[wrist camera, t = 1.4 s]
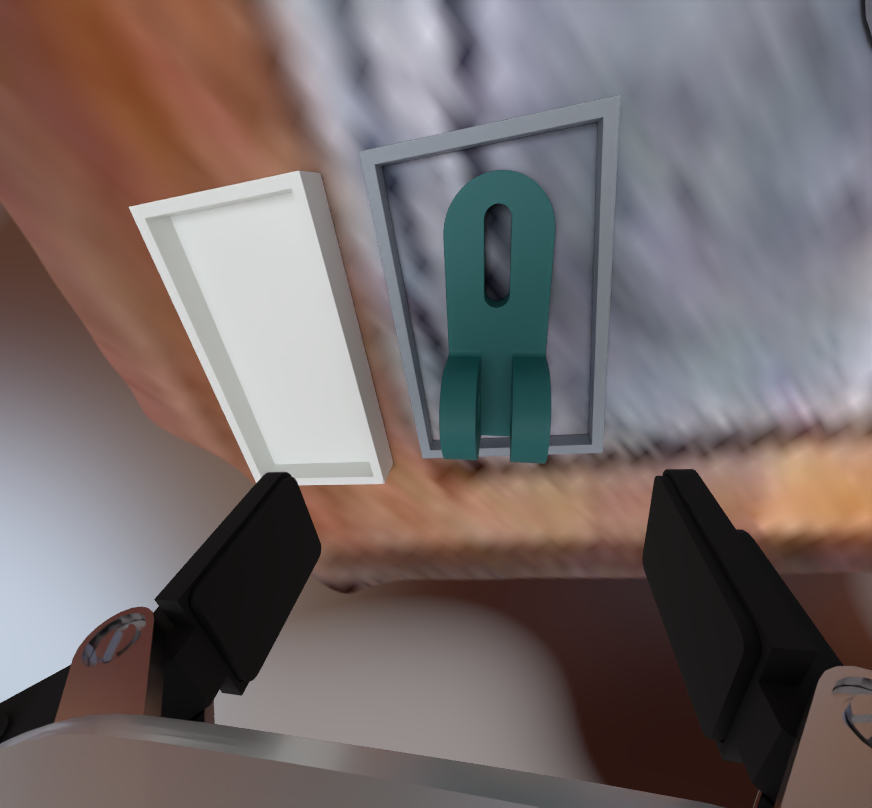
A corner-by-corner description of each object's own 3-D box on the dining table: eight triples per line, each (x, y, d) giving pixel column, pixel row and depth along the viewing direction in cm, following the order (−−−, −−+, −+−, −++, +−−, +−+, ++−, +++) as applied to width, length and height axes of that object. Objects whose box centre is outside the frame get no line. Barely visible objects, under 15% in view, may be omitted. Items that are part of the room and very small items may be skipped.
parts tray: (320, 173, 25) (299, 170, 23) (393, 462, 36) (384, 483, 33) (164, 206, 28) (128, 207, 25) (274, 466, 39) (257, 485, 36)
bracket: (537, 422, 32) (545, 484, 25) (456, 419, 33) (442, 478, 26) (555, 167, 23) (576, 155, 16) (446, 176, 24) (422, 168, 18)
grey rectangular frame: (613, 101, 21) (620, 94, 20) (598, 442, 31) (602, 452, 30) (366, 154, 24) (358, 151, 23) (425, 448, 34) (422, 458, 33)
